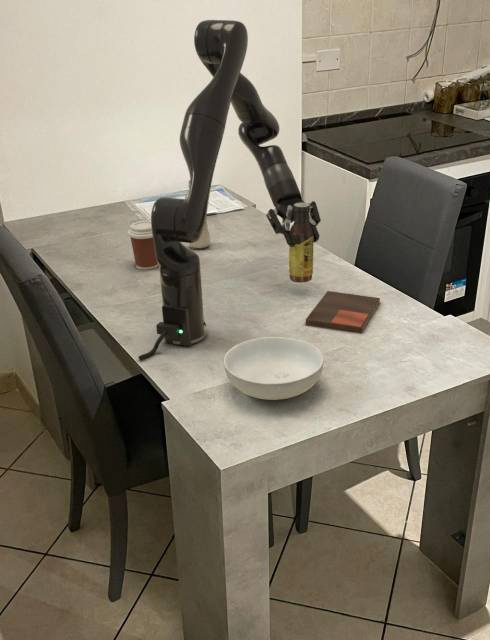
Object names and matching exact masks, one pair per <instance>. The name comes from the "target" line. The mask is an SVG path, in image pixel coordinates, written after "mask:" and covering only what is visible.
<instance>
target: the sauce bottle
mask: <svg viewBox="0 0 490 640" xmlns="http://www.w3.org/2000/svg"><path fill="white" fill-rule="evenodd" d="M308 203H309V202H305V203H295V204H294V222H293V223H292V225H291V226H290V229H289V231H291V232H292V234H293V237H294V239H295V242H296V244H295V246H294V247H290V245H288V274H289V275H288V276H289V279H290V281H291V282H293V283H298V284H301V283H308V282H310V281H312V278H313V274H314V244H315V242H314V235H313V232H312V229H311V226H310V223H309V215H310V213H309V211H310V205H309V204H308Z"/></svg>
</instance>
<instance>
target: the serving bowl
mask: <svg viewBox="0 0 490 640" xmlns="http://www.w3.org/2000/svg"><path fill="white" fill-rule="evenodd" d="M324 364H325V357H324V355H323V353H322V351H321V350H320V349H319V348H318V347H316V345H313V344H312V343H309V342H308V341H305V340H303V339H299V338H293V337H287V336H263V337H257V338H252V339H248V340H245V341H242V342H240V343H238V344H236V345H234V346H233V347H231V348H230V349H229V350H227V352H226V353H225V354H224V358H223V367H224V372H225V374H226V377H227V379H228V381H229V382H230V383H231V385H232V386H233V387H234V388H235V389H236V390H238V391H239V392H241V393H242V394H245V395H247V396H249V397H252V398H256V399H260V400H270V401H277V400H286V399H291V398H294V397H297V396H299V395H301V394H302V395H303V394H304V393H306V392H307V391H308V390H310V389H311V388H313V386H314V385H315V384H316V383H317V382H318V380H319V379H320V377H321V375H322V372H323V370H324V369H323V368H324ZM270 372H285V373H288V374H289V377H287V378H282V377H281V378H280V379H277V378H275V377H274V374H273V375H272V376H271V375H269V374H270ZM291 377H292V378H291Z"/></svg>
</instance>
